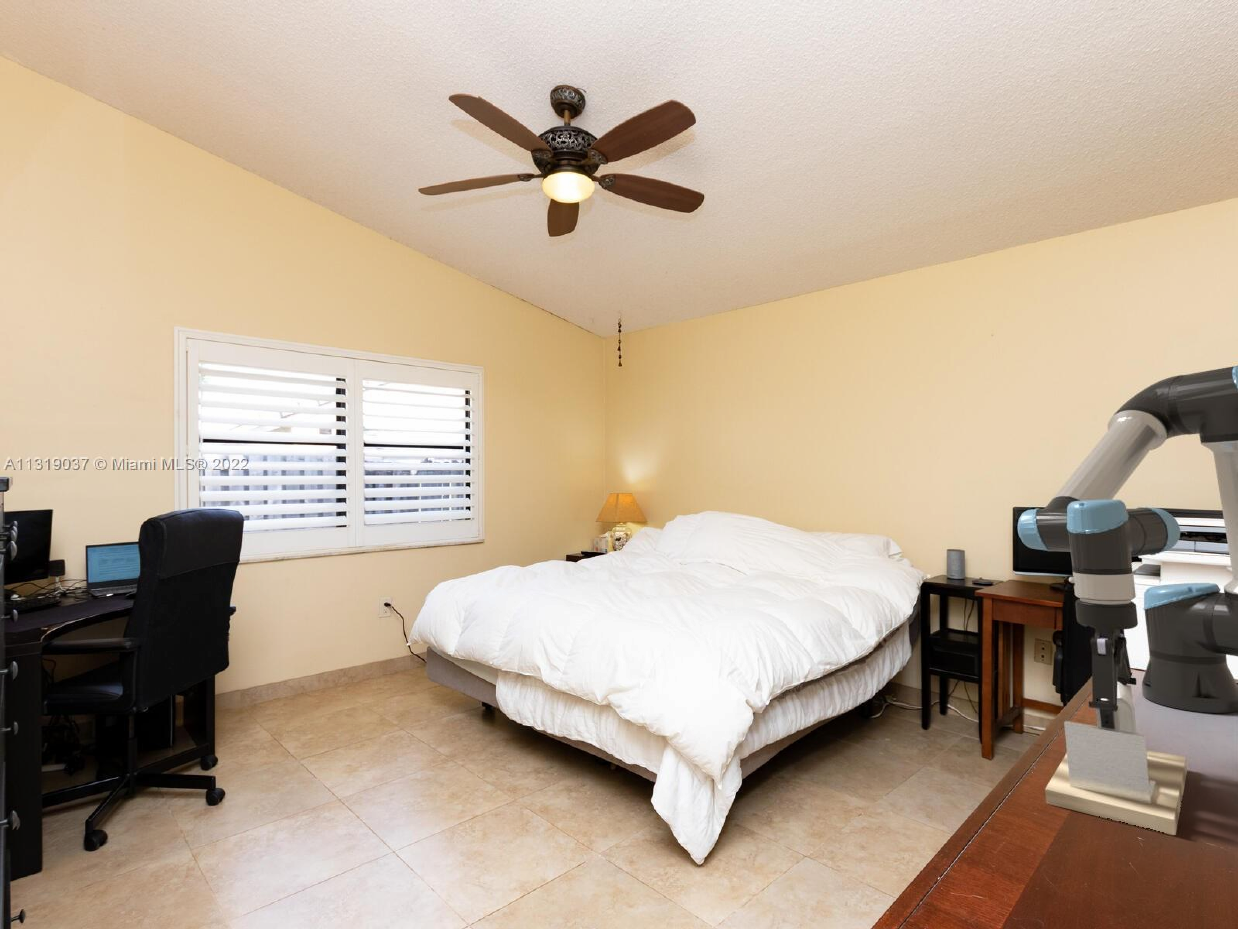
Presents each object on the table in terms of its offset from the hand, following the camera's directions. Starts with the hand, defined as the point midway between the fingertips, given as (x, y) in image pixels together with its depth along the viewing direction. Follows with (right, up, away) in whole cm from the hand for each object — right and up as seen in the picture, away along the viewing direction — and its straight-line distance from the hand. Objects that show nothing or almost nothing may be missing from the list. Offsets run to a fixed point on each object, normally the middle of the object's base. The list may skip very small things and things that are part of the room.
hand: (1118, 739), depth 97 cm
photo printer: (0, -4, 0) cm, 4 cm away
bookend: (-6, -4, -6) cm, 9 cm away
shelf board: (-2, -6, -2) cm, 7 cm away
